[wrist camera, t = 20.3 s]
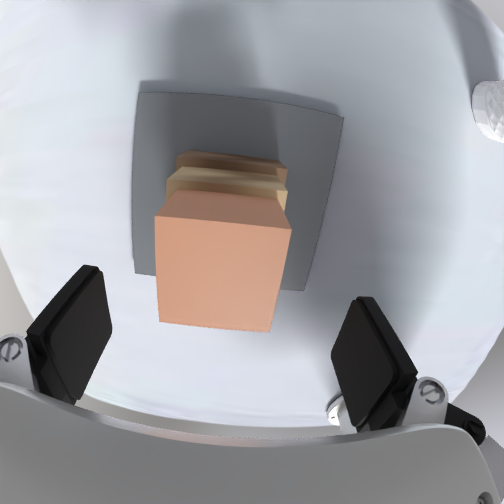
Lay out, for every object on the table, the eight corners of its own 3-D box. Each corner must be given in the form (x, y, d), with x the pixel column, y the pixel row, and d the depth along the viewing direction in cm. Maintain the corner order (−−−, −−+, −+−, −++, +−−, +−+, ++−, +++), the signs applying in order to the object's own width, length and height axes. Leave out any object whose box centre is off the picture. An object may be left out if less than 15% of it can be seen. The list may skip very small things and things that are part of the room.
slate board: (339, 117, 20) (344, 117, 19) (301, 285, 27) (303, 291, 26) (143, 93, 18) (138, 92, 17) (138, 267, 25) (134, 273, 24)
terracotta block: (277, 199, 14) (292, 229, 10) (263, 284, 16) (269, 332, 12) (177, 188, 13) (154, 215, 10) (175, 275, 15) (159, 321, 12)
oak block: (277, 175, 17) (287, 191, 13) (263, 259, 20) (269, 292, 16) (182, 166, 16) (166, 179, 13) (178, 251, 19) (166, 282, 16)
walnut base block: (279, 160, 20) (287, 169, 17) (265, 242, 24) (269, 266, 20) (188, 150, 20) (176, 156, 16) (182, 233, 23) (172, 255, 19)
